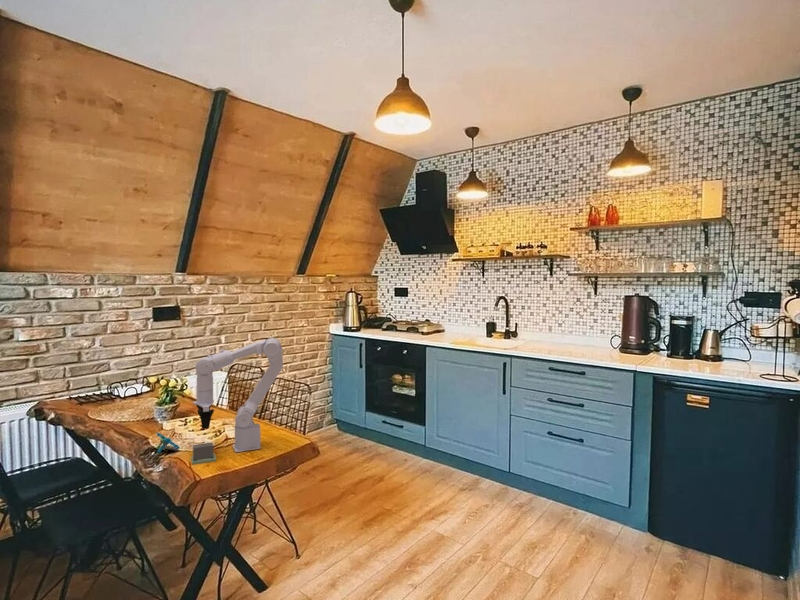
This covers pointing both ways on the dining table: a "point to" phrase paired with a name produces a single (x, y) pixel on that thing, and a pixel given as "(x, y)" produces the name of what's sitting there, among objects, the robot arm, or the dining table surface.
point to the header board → (203, 460)
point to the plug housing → (202, 451)
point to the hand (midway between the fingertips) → (205, 424)
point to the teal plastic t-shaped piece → (165, 442)
